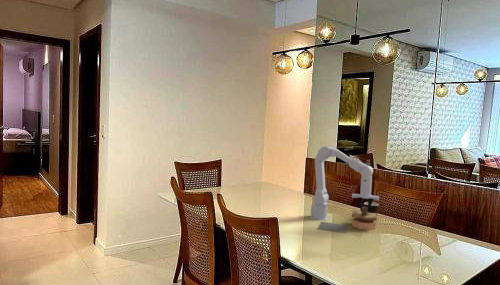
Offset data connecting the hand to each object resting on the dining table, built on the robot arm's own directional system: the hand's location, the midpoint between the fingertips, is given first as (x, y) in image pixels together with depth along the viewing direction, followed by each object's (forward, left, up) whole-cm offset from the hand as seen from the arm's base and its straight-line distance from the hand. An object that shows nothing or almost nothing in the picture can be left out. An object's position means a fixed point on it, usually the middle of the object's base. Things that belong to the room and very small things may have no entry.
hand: (364, 211), depth 200 cm
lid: (0, 0, -3) cm, 3 cm away
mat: (-16, -10, -9) cm, 21 cm away
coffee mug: (+3, +17, -9) cm, 20 cm away
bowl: (0, 0, -9) cm, 9 cm away
